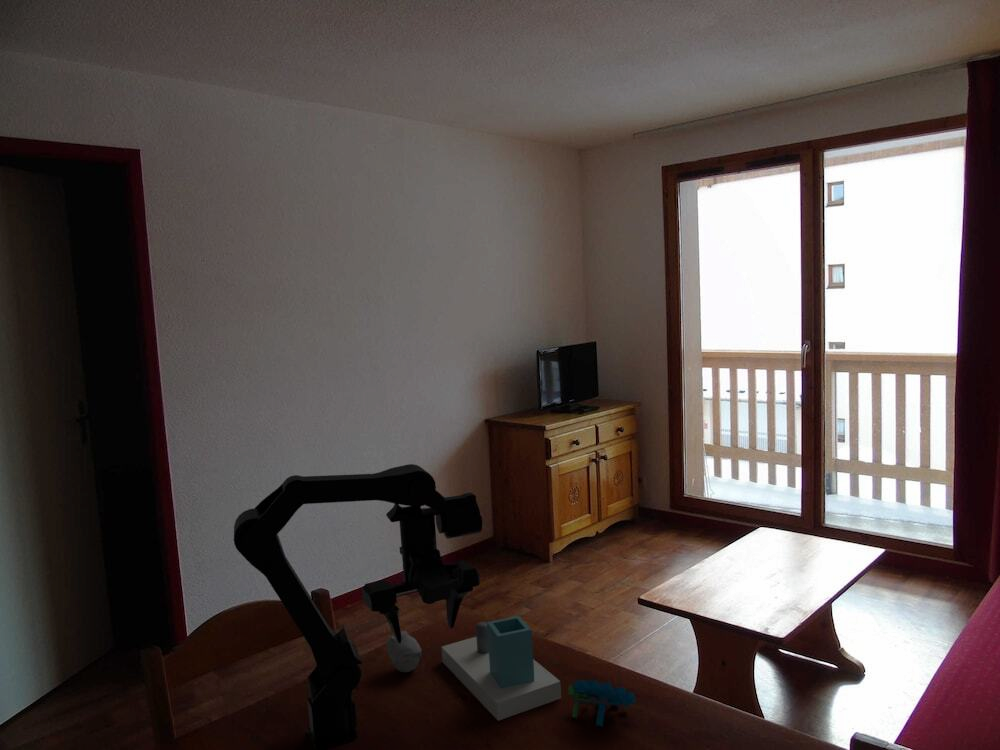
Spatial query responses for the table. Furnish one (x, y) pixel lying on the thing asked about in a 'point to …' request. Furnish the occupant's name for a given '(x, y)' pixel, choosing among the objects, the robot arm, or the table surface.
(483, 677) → the board
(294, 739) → the table surface
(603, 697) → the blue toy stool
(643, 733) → the table surface
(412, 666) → the grey rounded lump
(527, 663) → the collar
